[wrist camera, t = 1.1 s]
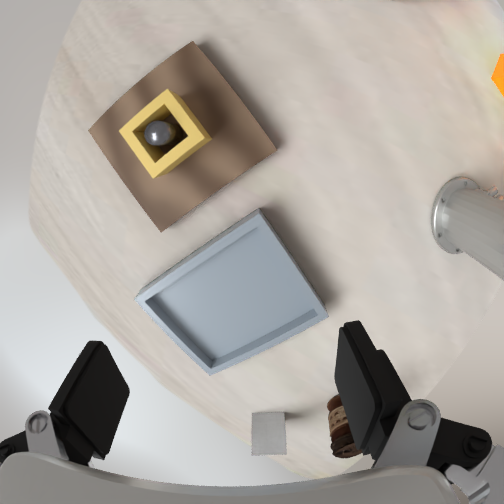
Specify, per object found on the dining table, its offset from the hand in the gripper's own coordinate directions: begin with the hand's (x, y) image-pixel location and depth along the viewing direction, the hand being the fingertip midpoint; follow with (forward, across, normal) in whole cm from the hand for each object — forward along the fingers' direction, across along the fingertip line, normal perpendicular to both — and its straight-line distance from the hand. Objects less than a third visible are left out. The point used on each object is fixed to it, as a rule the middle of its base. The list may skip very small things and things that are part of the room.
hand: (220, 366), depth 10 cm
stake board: (+28, +7, -10) cm, 31 cm away
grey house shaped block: (+28, 0, +45) cm, 53 cm away
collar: (+26, +7, -10) cm, 29 cm away
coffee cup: (+27, -16, +42) cm, 53 cm away
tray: (+28, +3, +14) cm, 31 cm away
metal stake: (+26, +7, -10) cm, 29 cm away
